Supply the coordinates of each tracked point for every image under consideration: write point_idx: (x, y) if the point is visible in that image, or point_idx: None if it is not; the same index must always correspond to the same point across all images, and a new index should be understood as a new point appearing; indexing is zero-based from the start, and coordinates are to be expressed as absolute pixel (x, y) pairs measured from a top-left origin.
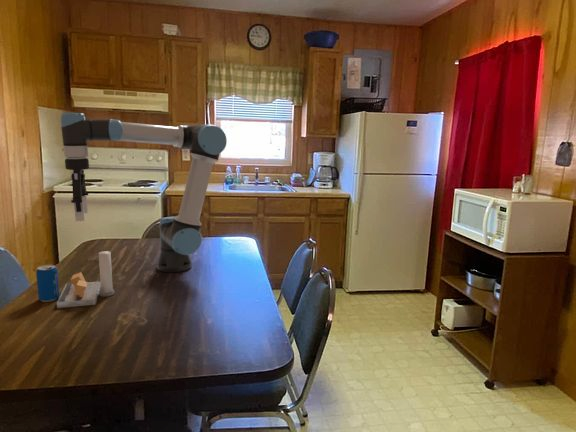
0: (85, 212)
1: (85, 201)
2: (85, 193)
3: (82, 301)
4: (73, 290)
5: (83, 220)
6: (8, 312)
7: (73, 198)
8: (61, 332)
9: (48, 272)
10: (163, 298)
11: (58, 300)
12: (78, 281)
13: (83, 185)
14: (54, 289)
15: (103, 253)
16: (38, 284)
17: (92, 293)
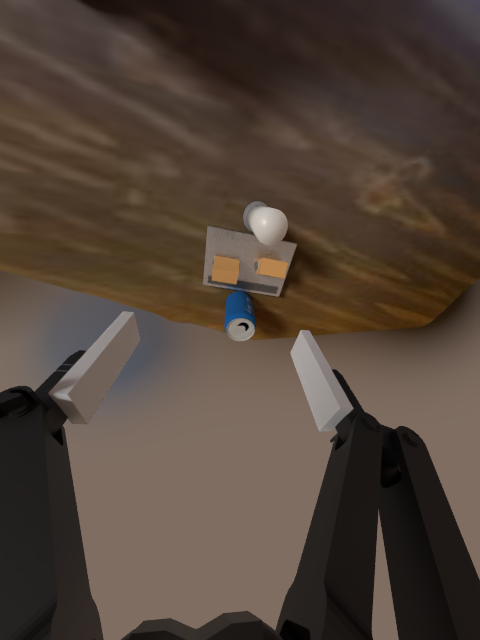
0: (134, 323)
1: (98, 364)
2: (43, 419)
3: (289, 263)
4: (239, 274)
5: (308, 333)
6: (261, 336)
7: (397, 469)
8: (356, 288)
9: (255, 324)
10: (351, 74)
11: (272, 294)
12: (267, 275)
13: (57, 562)
14: (250, 303)
15: (277, 232)
16: (246, 325)
17: (268, 246)
